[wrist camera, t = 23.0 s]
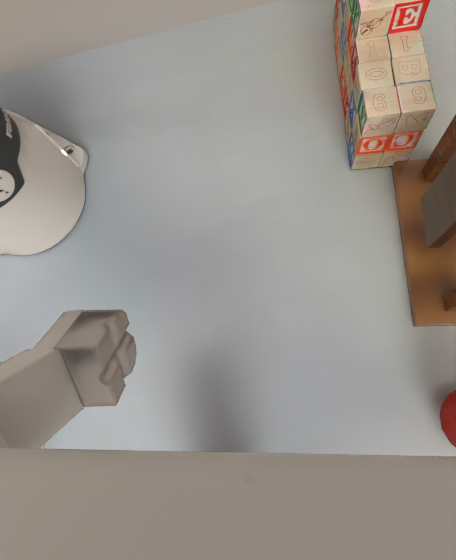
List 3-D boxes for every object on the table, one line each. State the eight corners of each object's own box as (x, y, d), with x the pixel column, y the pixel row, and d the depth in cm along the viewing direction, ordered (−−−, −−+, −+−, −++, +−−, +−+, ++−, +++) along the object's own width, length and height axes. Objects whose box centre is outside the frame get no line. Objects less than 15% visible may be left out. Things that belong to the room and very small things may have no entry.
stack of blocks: (407, 165, 43) (450, 84, 31) (349, 171, 44) (370, 94, 32) (382, 16, 49) (411, -100, 37) (331, 24, 50) (344, -87, 38)
